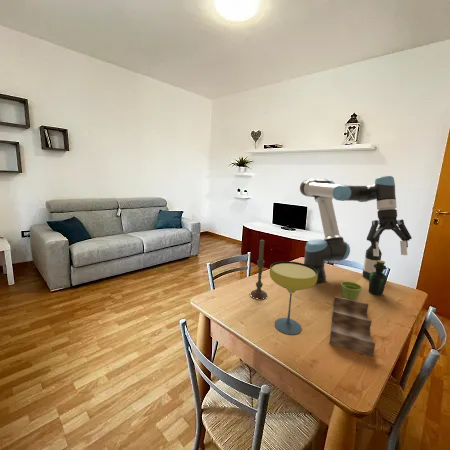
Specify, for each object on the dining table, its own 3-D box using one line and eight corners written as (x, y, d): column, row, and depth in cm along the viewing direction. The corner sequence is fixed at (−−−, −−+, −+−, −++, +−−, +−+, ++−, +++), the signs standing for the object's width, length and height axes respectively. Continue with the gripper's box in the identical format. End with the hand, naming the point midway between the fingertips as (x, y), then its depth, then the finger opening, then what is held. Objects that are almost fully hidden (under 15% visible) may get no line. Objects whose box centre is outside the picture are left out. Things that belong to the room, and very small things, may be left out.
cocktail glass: (304, 347, 87) (311, 283, 82) (258, 329, 96) (262, 271, 91) (315, 322, 102) (322, 267, 97) (274, 309, 111) (279, 258, 106)
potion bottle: (385, 292, 131) (391, 261, 128) (382, 297, 126) (388, 265, 122) (368, 287, 137) (373, 257, 133) (365, 292, 131) (370, 261, 127)
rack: (329, 343, 90) (331, 331, 89) (333, 305, 116) (334, 296, 115) (372, 356, 84) (375, 343, 83) (366, 314, 110) (368, 303, 109)
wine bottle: (359, 274, 156) (366, 229, 149) (371, 274, 156) (378, 229, 150) (367, 279, 147) (375, 232, 141) (380, 279, 148) (388, 232, 142)
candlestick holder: (247, 297, 121) (250, 239, 115) (252, 289, 130) (255, 235, 124) (265, 301, 118) (269, 242, 112) (269, 293, 126) (273, 238, 120)
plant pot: (354, 297, 125) (357, 282, 123) (363, 307, 116) (365, 290, 114) (336, 296, 126) (338, 280, 124) (343, 305, 117) (345, 289, 115)
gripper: (366, 209, 107) (369, 257, 106) (419, 208, 109) (422, 255, 108) (356, 211, 115) (359, 256, 113) (405, 210, 117) (409, 254, 115)
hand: (390, 255), depth 111 cm, fingers open, 13 cm apart
